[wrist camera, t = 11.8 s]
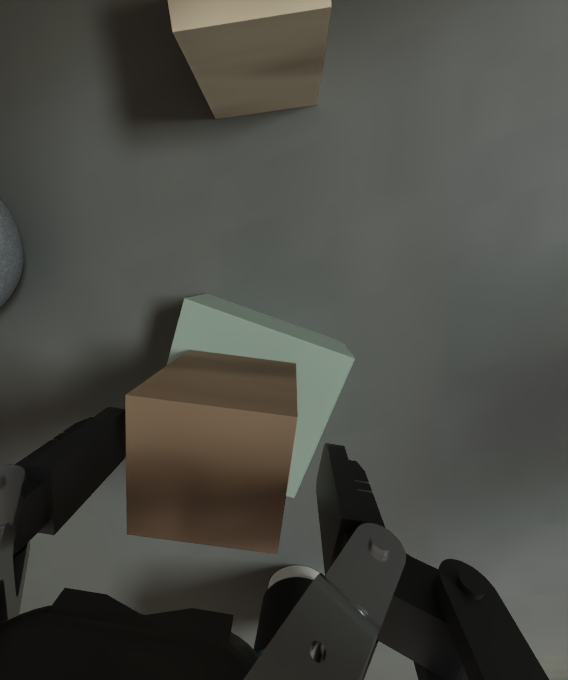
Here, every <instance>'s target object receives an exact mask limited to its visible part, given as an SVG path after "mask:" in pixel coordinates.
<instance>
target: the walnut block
mask: <svg viewBox="0 0 568 680" xmlns="http://www.w3.org/2000/svg"><path fill="white" fill-rule="evenodd" d="M125 410H126V498H127V534H128V535H136V536H143V537H151V538H158V539H166V540H174V541H181V542H189V543H196V544H204V545H212V546H219V547H227V548H235V549H242V550H250V551H257V552H265V553H273V554H277V553H278V546H279V539H280V533H281V526H282V519H283V513H284V506H285V499H286V492H287V486H288V479H289V472H290V465H291V459H292V452H293V445H294V439H295V432H296V425H297V418H298V411H297V379H296V363H290V362H282V361H275V360H267V359H259V358H251V357H244V356H236V355H228V354H220V353H212V352H204V351H197V350H188V351H187V352H185V353H184V354H182V355H181V356H180V357H178V358H177V359H175V360H174V361H173V362H171V363H170V364H168V365H167V366H166V367H164V368H163V369H161V370H160V371H158V372H157V373H156V374H154V375H153V376H151V377H150V378H149V379H147V380H146V381H144V382H143V383H141V384H140V385H139V386H137V387H136V388H134V389H133V390H132V391H130V392H129V393H127V394H126V395H125Z"/></svg>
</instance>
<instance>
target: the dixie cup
mask: <svg viewBox="0 0 568 680" xmlns="http://www.w3.org/2000/svg"><path fill="white" fill-rule="evenodd" d="M319 574H320V573H318V572H317V571H315V570H314V569H312V568H309V567H306V566H298V565H295V566H288V567H285V568H282V569H280V570H278V571H277V572H276V573H275V574H274V575H273V576H272V577H271V579H270V581H269V585H268V590H267V591H266V593H265V595H264V598H263V603H262V608H261V613H260V619H259V624H258V629H257V635H256V640H255V645H254V651H255V652H256V653H257V654H258V656H259V657H260V655H261V654H262V653H263V651H264V650H265V648H266V647H267V645H268V644H269V643H270V641H271V640H272V638H273V637H274V636H275V634H276V633H277V631H278V630H279V628H280V627H281V626H282V624H283V623H284V621H285V620H286V619H287V617H288V616H289V614H290V613H291V611H292V610H293V609H294V607H295V606H296V604H297V603H298V601H299V600H300V599H301V597H302V596H303V594H304V593H305V592H306V590H307V589H308V587H309V586H310V584H311V583H312V582H313V580H314V579H315V578H316V577H317V575H319Z"/></svg>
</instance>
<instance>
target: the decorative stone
mask: <svg viewBox="0 0 568 680" xmlns="http://www.w3.org/2000/svg"><path fill="white" fill-rule="evenodd" d="M23 263H24V254H23V246H22V241H21V237H20V234H19V231H18V228H17V226H16V224H15V221H14V219H13V217H12V216H11V214H10V212H9V211H8V209H7V207H6V206H5V204H4V203H3V201H2V200H1V199H0V307H1V306H2V305H3V304H4V303H5V302H6V301H7V300H8V298H9V297H10V296H11V294H12V293H13V292H14V290H15V288H16V286H17V284H18V282H19V280H20V277H21V274H22V270H23Z"/></svg>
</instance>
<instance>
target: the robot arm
mask: <svg viewBox="0 0 568 680" xmlns="http://www.w3.org/2000/svg"><path fill="white" fill-rule="evenodd" d="M125 457H126V410H125V409H119V408H113V407H108V408H106V409H105V410H103V411H102V412H100V413H99V414H98V415H96V416H95V417H90V418H88V419H85V420H82V421H80V422H77V423H75V424H74V425H72V426H71V427H69V428H68V429H66V430H65V431H64V432H63V433H61V434H59V435H58V436H56V437H55V438H54V439H53V440H50V441H49V442H47V443H46V444H44V445H43V446H41V447H40V448H38V449H37V450H36V451H34V452H33V453H31V454H30V455H28V456H27V457H25V458H24V459H22V460H21V461H19V462H18V463H16V464H15V465H12V464H6V465H0V680H364V678H365V676H366V673H367V670H368V668H369V665H370V662H371V660H372V657H373V654H374V652H375V649H376V646H377V644H378V641H380V642H382V643H383V644H385V645H387V646H388V647H390V648H392V649H394V650H395V651H397V652H399V653H401V654H402V655H404V656H406V657H408V658H409V659H411V660H413V661H414V665H415V669H416V672H417V676H418V680H549V679H548V677H547V675H546V674H545V672H544V670H543V668H542V667H541V665H540V663H539V662H538V660H537V658H536V657H535V655H534V653H533V652H532V650H531V648H530V647H529V645H528V643H527V642H526V640H525V638H524V636H523V635H522V633H521V631H520V630H519V628H518V626H517V625H516V623H515V621H514V620H513V618H512V616H511V615H510V613H509V611H508V610H507V608H506V606H505V605H504V603H503V601H502V599H501V598H500V596H499V594H498V593H497V591H496V590H495V588H494V587H493V586H492V584H491V583H490V582H489V581H488V580H487V579H486V578H485V577H484V576H483V575H482V574H481V573H480V572H478V571H477V570H476V569H474V568H473V567H471V566H470V565H468V564H466V563H464V562H462V561H459V560H455V559H447V560H444V561H442V563H441V564H440V566H439V569H436V568H434V567H432V566H430V565H427V564H425V563H423V562H421V561H419V560H417V559H415V558H413V557H411V556H409V555H408V554H406V553H405V550H404V548H403V546H402V544H401V542H400V541H399V540H398V538H397V537H396V536H395V535H394V534H393V533H392V532H390V531H389V530H388V529H386V528H385V526H384V523H383V520H382V517H381V515H380V512H379V509H378V506H377V504H376V501H375V498H374V495H373V493H372V490H371V487H370V484H369V482H368V479H367V476H366V473H365V471H364V470H363V469H362V467H361V466H360V465H359V464H358V463H357V462H356V461H351V460H348V457H347V453H346V450H345V447H344V446H341V445H335V444H329V443H325V445H324V449H323V453H322V458H321V462H320V466H319V471H318V476H317V484H316V493H317V503H318V512H319V522H320V531H321V541H322V550H323V560H324V569H325V576H324V575H323V574H322V573H320V574H319V575H317V577H316V578H315V579H314V580H313V582H312V583H311V584H310V586H309V587H308V589H307V590H306V592H305V593H304V594H303V596H302V597H301V599H300V600H299V601H298V603H297V604H296V606H295V607H294V609H293V610H292V611H291V613H290V614H289V616H288V617H287V619H286V620H285V621H284V623H283V624H282V626H281V627H280V628H279V630H278V631H277V633H276V634H275V636H274V637H273V638H272V640H271V641H270V643H269V644H268V645H267V647H266V648H265V650H264V651H263V653H262V654H261V655H260V657H259V656H258V654H257V653H256V652H255V651H254V650H253V649H252V647H251V646H250V645H249V644H248V643H246V642H245V641H244V640H243V639H241V638H240V637H239V636H237V635H235V634H233V633H232V632H231V627H232V621H233V615H230V614H224V613H218V612H212V611H205V610H199V609H193V608H191V609H184V610H177V611H170V612H164V613H157V614H150V615H143V614H140V613H138V612H136V611H134V610H133V609H131V608H129V607H127V606H126V605H124V604H122V603H120V602H119V601H117V600H115V599H113V598H112V597H110V596H108V595H106V594H100V593H94V592H88V591H82V590H75V589H69V588H64V590H63V591H62V592H61V594H60V595H59V596H58V598H57V599H56V600H55V602H54V603H53V605H51V606H46V607H42V608H38V609H34V610H31V611H29V612H26V613H23V614H20V606H21V599H22V593H23V587H24V581H25V575H26V569H27V563H28V557H29V551H30V540H31V539H32V538H33V537H34V536H35V535H36V534H37V533H44V534H50V535H55V534H56V533H57V532H58V530H59V529H60V528H61V527H62V526H63V525H64V524H65V523H66V522H67V521H68V520H69V518H70V517H71V516H72V515H73V514H74V513H75V512H76V511H77V510H78V509H79V508H80V507H81V505H82V504H83V503H84V502H85V501H86V500H87V499H88V498H89V497H90V496H91V495H92V493H93V492H94V491H95V490H96V489H97V488H98V487H99V486H100V485H101V484H102V483H103V481H104V480H105V479H106V478H107V477H108V476H109V475H110V474H111V473H112V472H113V471H114V470H115V468H116V467H117V466H118V465H119V464H120V463H121V462H122V461H123V460H124V458H125ZM19 614H20V615H19Z"/></svg>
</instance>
